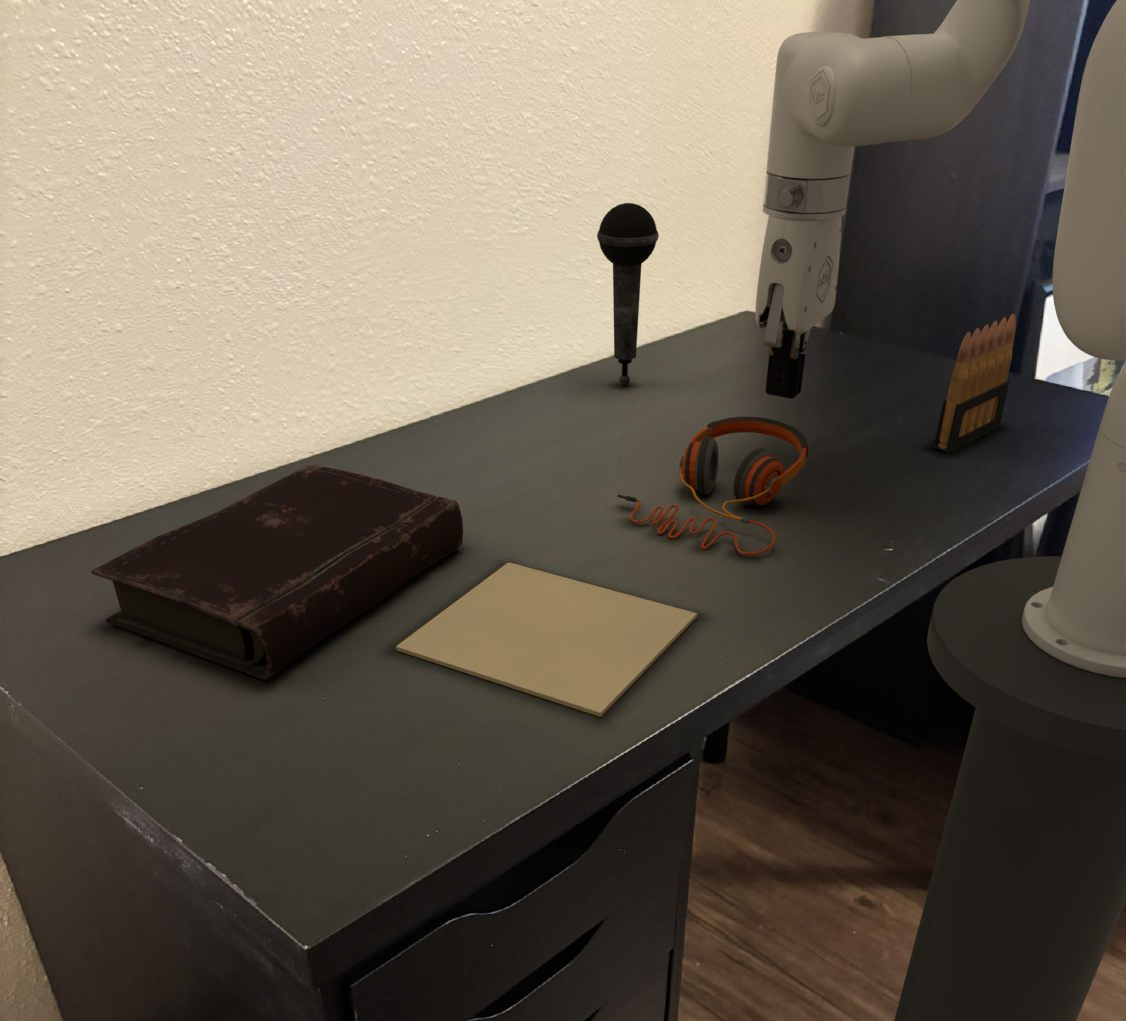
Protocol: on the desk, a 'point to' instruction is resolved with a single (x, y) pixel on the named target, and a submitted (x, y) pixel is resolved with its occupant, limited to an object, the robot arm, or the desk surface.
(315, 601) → the diary
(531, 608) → the flat square board
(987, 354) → the ammunition clip
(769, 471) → the headphones
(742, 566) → the desk surface
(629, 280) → the microphone
